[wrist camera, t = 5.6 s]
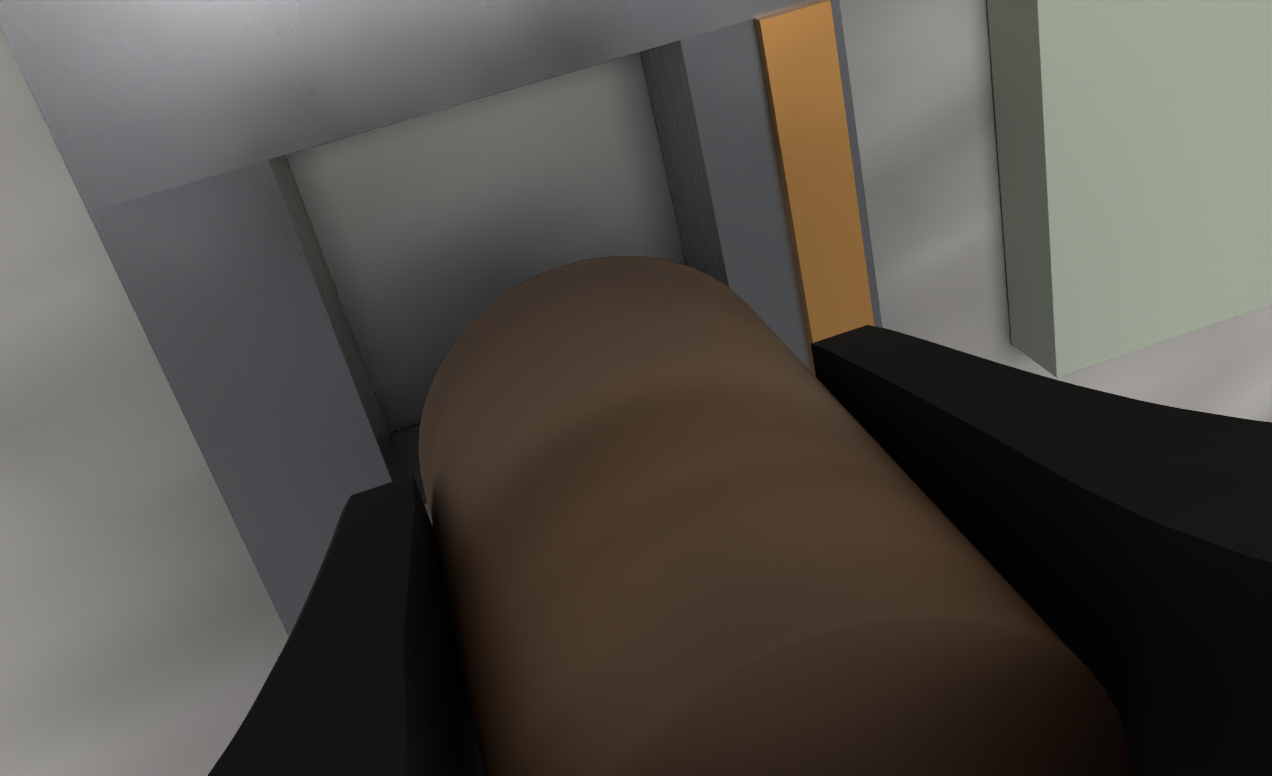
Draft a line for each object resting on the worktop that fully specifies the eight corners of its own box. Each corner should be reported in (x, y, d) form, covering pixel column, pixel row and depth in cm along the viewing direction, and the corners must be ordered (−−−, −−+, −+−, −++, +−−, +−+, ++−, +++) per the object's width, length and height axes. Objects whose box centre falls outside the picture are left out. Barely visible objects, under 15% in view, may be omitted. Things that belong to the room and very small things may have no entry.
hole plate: (865, 572, 24) (929, 656, 21) (378, 747, 22) (389, 857, 20) (692, -533, 15) (768, -594, 13) (-118, -350, 14) (-199, -381, 11)
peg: (812, 523, 14) (1133, 959, 9) (480, 640, 13) (610, 1180, 8) (753, 205, 12) (1123, 520, 7) (364, 328, 11) (436, 773, 6)
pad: (1336, 234, 23) (1399, 260, 22) (1011, 344, 22) (1057, 377, 21) (1381, -359, 18) (1465, -372, 17) (968, -250, 17) (1024, -254, 16)
